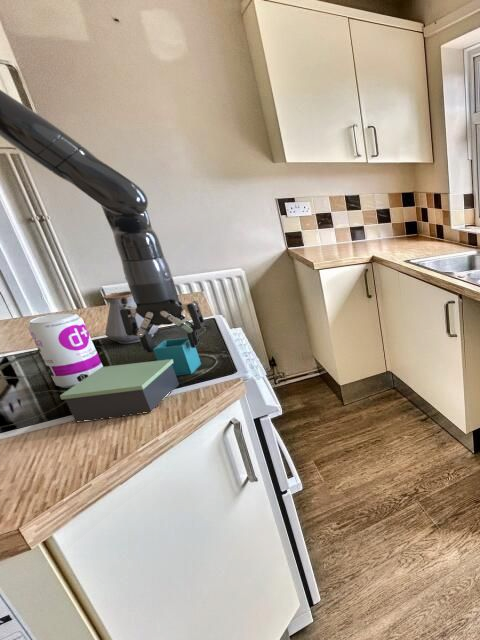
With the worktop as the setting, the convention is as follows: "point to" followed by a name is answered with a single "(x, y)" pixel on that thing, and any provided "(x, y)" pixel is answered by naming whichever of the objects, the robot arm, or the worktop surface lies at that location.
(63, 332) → the supplement can
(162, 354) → the teal container
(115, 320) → the coffee pot
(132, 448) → the worktop surface
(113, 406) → the green and grey box
